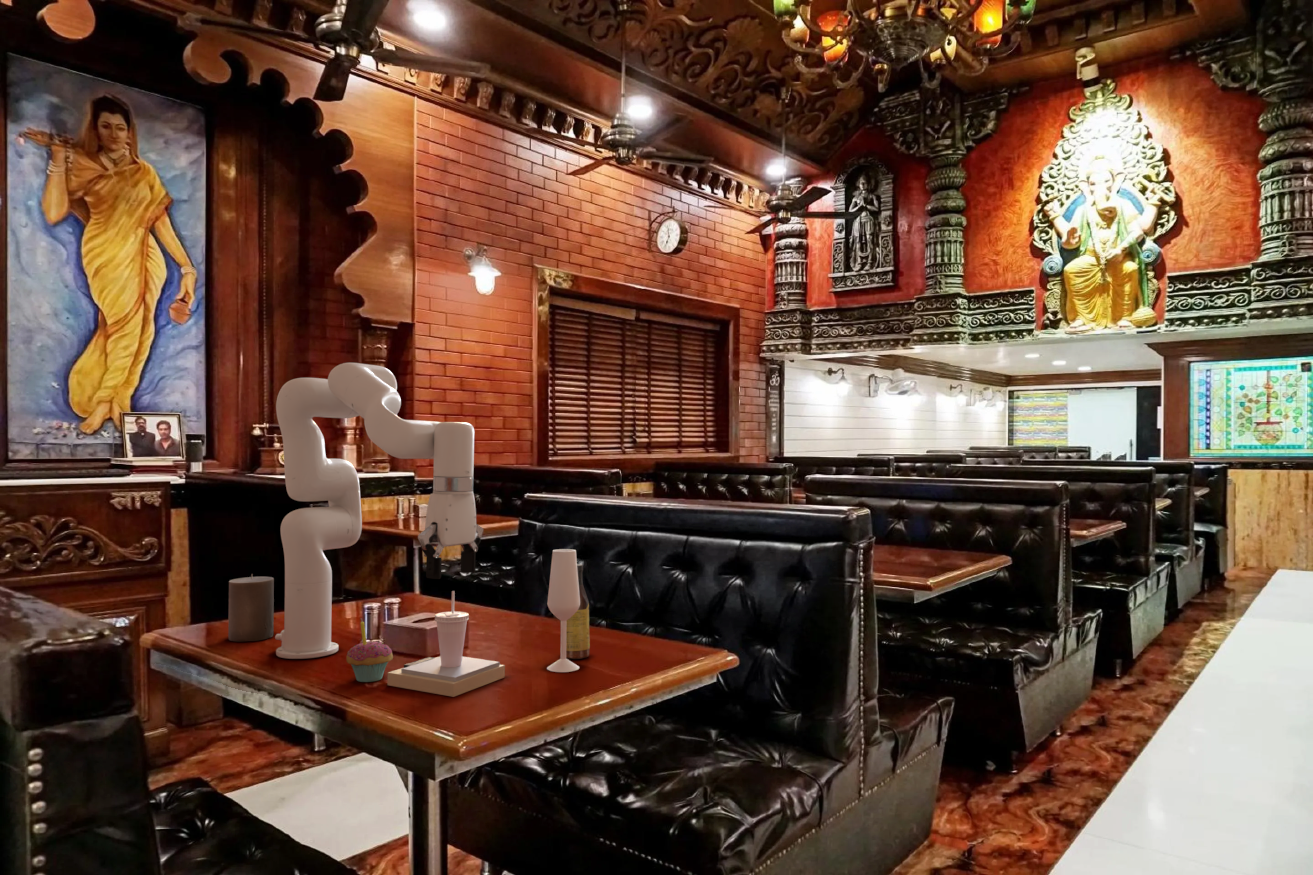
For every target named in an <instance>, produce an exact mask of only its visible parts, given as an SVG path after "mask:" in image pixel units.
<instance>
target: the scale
mask: <svg viewBox="0 0 1313 875" xmlns="http://www.w3.org/2000/svg"><path fill="white" fill-rule="evenodd" d="M505 677H506V665H505V664H501V663H500V661H495V660H490V659H483V658H476V657H470V656H463V655H462V662H461V665H460V666H458V667H450V668H449V667H442V666H441V658H440V655H439V656H437V657H431V656H428V657H425V658H421V659H419V660H414V661H412V662H408V663H406V664H403V667H401V668H398V669H395V670H391V671H388V672H387V684H386V686H390V687H396V688H401V689H406V690H412V691H417V692H423V693H428V694H436V695H441V696H446V697H451V698H454V697H457V696H461V695H462V694H465V693H468V692H471V691H473V690H475V689H478V688H480V687H483V686H486V685H488V684H491V683H493V682H497V681H499V680H501V679H504V678H505Z"/></svg>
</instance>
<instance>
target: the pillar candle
mask: <svg viewBox="0 0 1313 875" xmlns="http://www.w3.org/2000/svg"><path fill="white" fill-rule="evenodd" d="M253 575H254V574H253V573H251V576H249V577H248V576H247V577H238V578H233V579H229V581H228V618H227V620H228V624H227V625H228V626H227V627H228V631H227V633H228V634H227V635H228V636H227V638H228V640H229V641H231V642H237V643H240V642H257V641H263V640H267V639H270V638H273V636H274V634H275V633H274V632H275V631H274V629H275V628H274V625H275V624H274V622H275V620H274V619H275V618H274V616H275V606H274V602H275V599H274V597H275V596H274V593H275V592H274V591H275V578H274V577H272V576H253Z"/></svg>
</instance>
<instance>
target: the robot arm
mask: <svg viewBox="0 0 1313 875" xmlns="http://www.w3.org/2000/svg"><path fill="white" fill-rule="evenodd" d="M397 390H398V382H397V379H396V376H395V375H394V373H393V372H392V371H391V370H390V369H388V368H386V367H385V366H382V365H376V364H368V363H359V362H343V363H339V364H338V365H336V366H335V367H333V368H332V369H331V370H330V371H329V373H328V376H327V378H322V377H321V378H319V377H297V378H293V379H290V380H288V381H286V382H285V383H284V384H283V385H282V386H281V388H280V390H279V392H278V394H277V396H276V397H277V398H276V402H275V410H276V411H275V412H276V418H277V423H278V427H279V429H280V433H281V438H282V448H283V450H282V451H283V467H284V481H285V482H284V483H285V487H286V492H287V495H288V497H289V498H290V499H292V500H294V501H297V502H326V501H327V502H328V506H314V507H301V508H298V509H297V508H296V509H295V510H292V511H290V512H289V513H287V514H286V515H285V516H284V517H283V519H282V521H281V523H280V530H279V531H280V540H281V544H282V548H283V557H284V615H283V616H284V618H283V619H284V621H283V629H282V630H281V631H280V633H276V634H275V636H274V638H275V640H276V641H281V646H279V647H277V648H276V649H275V655H276V657H278V658H282V659H287V660H288V659H289V660H305V659H307V660H308V659H315V658H321V657H327V656H330V655H333V654H336V653H337V652H338V651H339V644H338V643H336V642H333V641H332V610H333V608H332V602H333V570H332V566H331V563H330V561H329V560H328V558H327V557H326V555H325V552H324V551H327V550H335V549H343V548H349V547H351V546H353V545H355V544H356V543H357V542H358V541H359V539H360V537H361V535H362V530H363V517H362V516H363V515H362V502H361V487H360V478H359V475H358V472H357V470H356V468H355V466H354V465H353V464H352V463H351V462H350V461H348V460H346V459H343V458H328V457H327V455H326V454H327V453H326V443H325V437H324V434H323V433H322V430H321V428H320V427H319V426H318V424H317V423H316V422H315V421H314V420H313V418H328V419H329V418H331V419H352V418H353V419H354V418H356V417H359V416H360V417H361V418H362V419H363V422H364V423H363V424H364V428H365V432H366V435H367V437H368V439H369V440H370V441H371V442H372V443H373V444H374V445H376V446H377V447H378V448H379V449H381V450H382V451H383V452H385V453H386V454H388V455H390V456H391V457H394V458H397V459H400V460H433V474H432V475H433V477H432V478H433V480H432V482H433V483H432V493H430V494H429V497H428V501H427V502H428V503H427V508H426V515H425V521H424V522H425V525H424V530H422V532H420V533H419V534H418V535H417V539H418V543H419V545H420V550H421V551H422V553H423V556H424V557H425V558H426V559H425V560H426V561H425V564H426V565H425V577H426V579H432V580H440V579H441V578H442V565H443V564H442V563H443V562H442V560H443V558H442V557H440V556H441V554H442V552H443V550H444V548H445V547H454V546H460V547H461V548H462V550H461V552H460V571H461V572H463V573H471V574H472V573H476V556H477V555H476V553H477V552H478V550H479V545H480V544H481V542H482V536H483V534H484V528H483V527H482V526H481V525H479V524H477V508H476V500H475V493H474V468H475V466H474V464H475V428H474V425H473V424H471V423H469V422H463V421H461V422H460V421H436V420H435V421H434V420H419V419H418V420H417V419H404V418H401V417H400V416H398V413H399V412H400V409H401V406H402V399H401V396H400V393H399V392H398V391H397Z"/></svg>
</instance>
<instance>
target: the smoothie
mask: <svg viewBox="0 0 1313 875" xmlns="http://www.w3.org/2000/svg"><path fill="white" fill-rule="evenodd" d="M455 594H456V593H455V590H452V591H451V611H442V612H438V613H436V614H435V615H434V622H436V630H437V641H438V650H439V656H440V658H441V666H442V667H449V668H450V667H458V666H460V665H461V662H462V656H463V653H464V647H465V646H464V645H465V639H466V631H467V624H468V623H467V622H468V620H469V619H470V618H469V616H470V615H469V613H468V612H466V611H457V610H455V604H456V603H455V597H456V596H455Z"/></svg>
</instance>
